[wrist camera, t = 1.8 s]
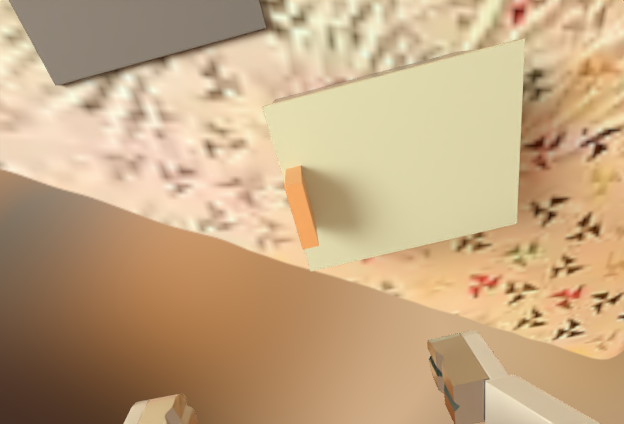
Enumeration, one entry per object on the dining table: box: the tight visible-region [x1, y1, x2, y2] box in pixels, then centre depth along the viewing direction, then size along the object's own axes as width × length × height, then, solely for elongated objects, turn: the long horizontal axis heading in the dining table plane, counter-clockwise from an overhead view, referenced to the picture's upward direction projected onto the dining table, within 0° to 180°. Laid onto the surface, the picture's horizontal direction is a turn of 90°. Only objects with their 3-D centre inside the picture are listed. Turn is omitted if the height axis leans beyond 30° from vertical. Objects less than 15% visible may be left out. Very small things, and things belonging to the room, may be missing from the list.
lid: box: [262, 39, 525, 271], centre depth 24 cm, size 19×15×6 cm
